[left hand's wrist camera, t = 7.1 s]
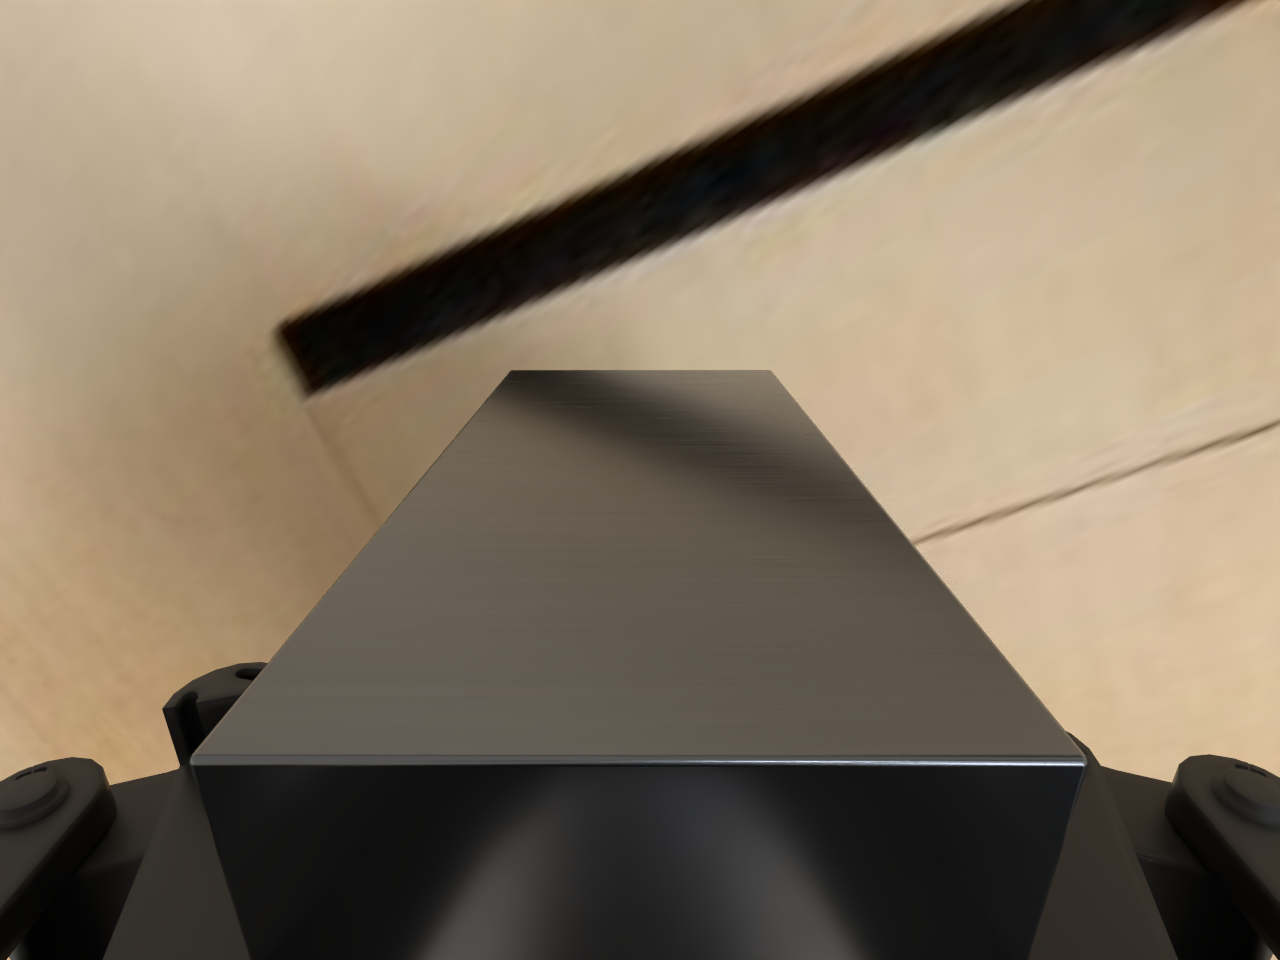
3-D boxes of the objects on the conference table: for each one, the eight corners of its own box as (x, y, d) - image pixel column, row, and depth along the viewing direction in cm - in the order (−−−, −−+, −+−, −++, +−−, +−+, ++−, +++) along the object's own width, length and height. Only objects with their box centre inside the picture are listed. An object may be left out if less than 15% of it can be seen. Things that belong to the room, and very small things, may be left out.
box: (509, 369, 16) (181, 758, 5) (771, 369, 16) (1094, 759, 5) (552, 969, 24) (470, 1671, 12) (729, 969, 24) (811, 1672, 12)
